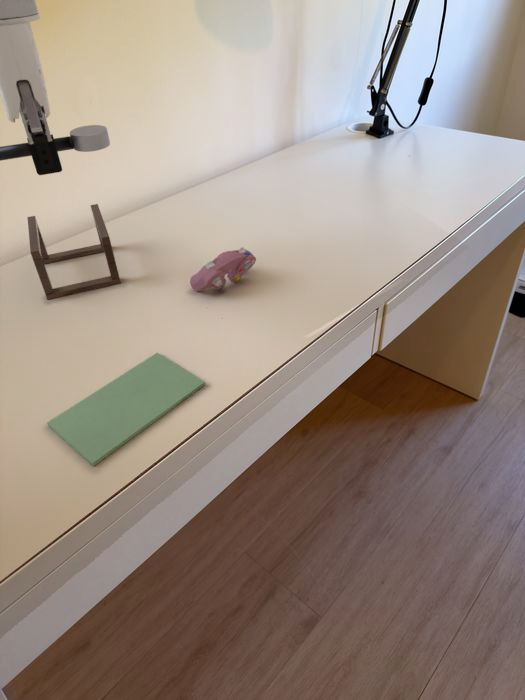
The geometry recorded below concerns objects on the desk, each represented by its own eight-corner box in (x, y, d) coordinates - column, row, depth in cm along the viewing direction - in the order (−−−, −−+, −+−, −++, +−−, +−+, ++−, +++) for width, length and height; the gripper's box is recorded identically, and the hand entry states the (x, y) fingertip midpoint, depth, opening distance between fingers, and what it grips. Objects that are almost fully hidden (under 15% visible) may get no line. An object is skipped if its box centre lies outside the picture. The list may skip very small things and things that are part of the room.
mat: (93, 466, 55) (92, 463, 54) (47, 425, 59) (46, 422, 59) (205, 385, 64) (204, 381, 63) (157, 355, 68) (157, 352, 68)
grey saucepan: (-15, 168, 65) (-22, 152, 64) (-15, 157, 69) (-21, 141, 67) (112, 148, 69) (109, 132, 68) (107, 138, 73) (103, 123, 72)
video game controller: (203, 306, 79) (211, 278, 74) (186, 285, 81) (192, 255, 75) (253, 282, 84) (264, 254, 78) (236, 261, 85) (246, 232, 80)
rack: (47, 299, 80) (30, 253, 75) (42, 260, 90) (27, 216, 85) (120, 283, 83) (109, 236, 78) (108, 246, 93) (97, 203, 88)
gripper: (-33, 3, 63) (18, 157, 75) (-39, 17, 52) (22, 196, 64) (32, -3, 65) (72, 148, 77) (40, 10, 54) (85, 185, 66)
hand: (49, 169), depth 70 cm, fingers closed on grey saucepan, 1 cm apart
